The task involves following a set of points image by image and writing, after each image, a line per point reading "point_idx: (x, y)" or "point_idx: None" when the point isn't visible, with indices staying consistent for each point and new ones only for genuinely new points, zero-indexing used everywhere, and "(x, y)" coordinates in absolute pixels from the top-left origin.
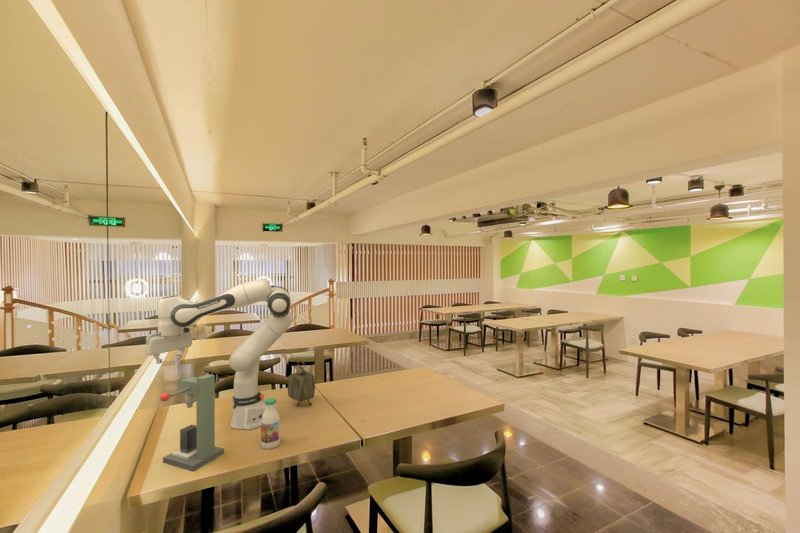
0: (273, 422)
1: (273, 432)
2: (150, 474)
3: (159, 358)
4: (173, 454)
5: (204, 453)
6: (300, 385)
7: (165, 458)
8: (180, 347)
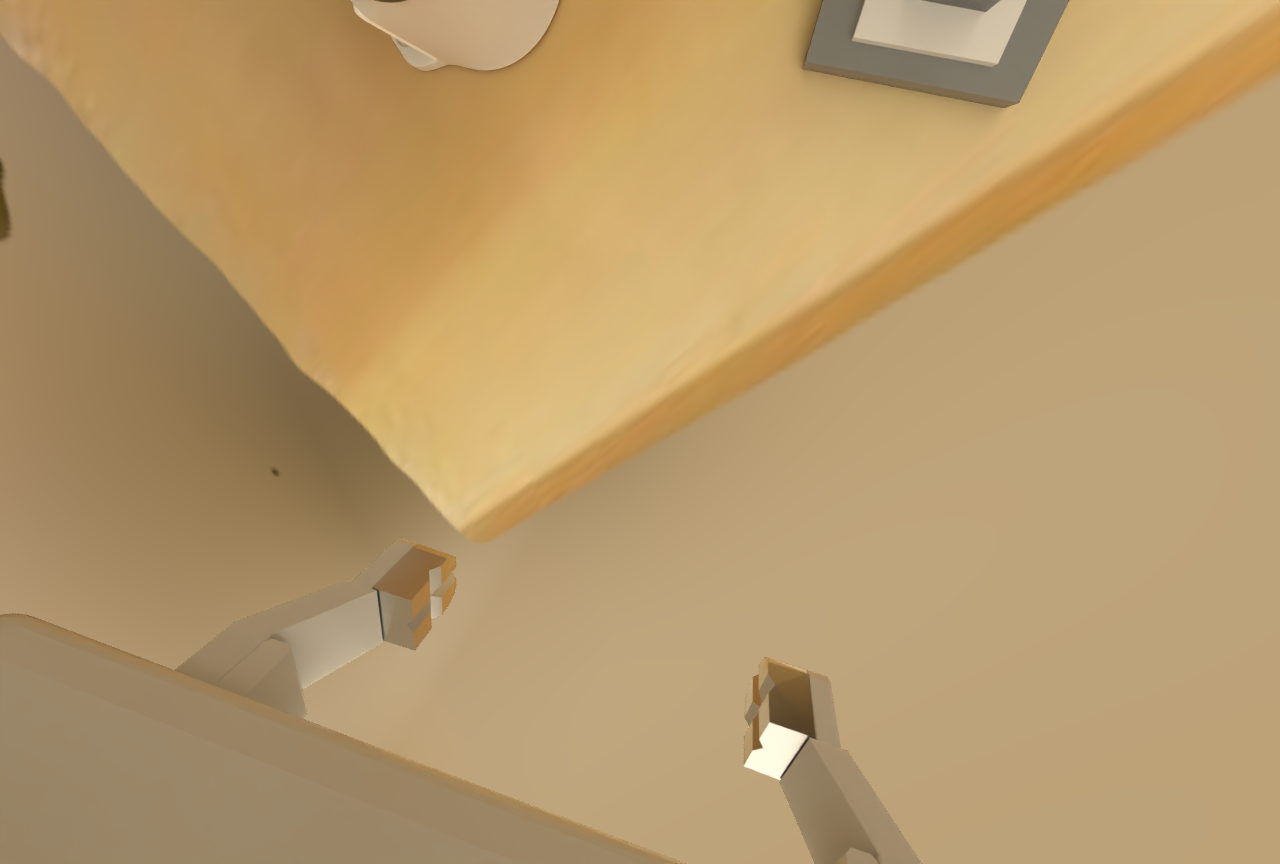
0: None
1: None
2: (1153, 63)
3: (842, 778)
4: (1004, 45)
5: None
6: None
7: (1030, 77)
8: (241, 756)
